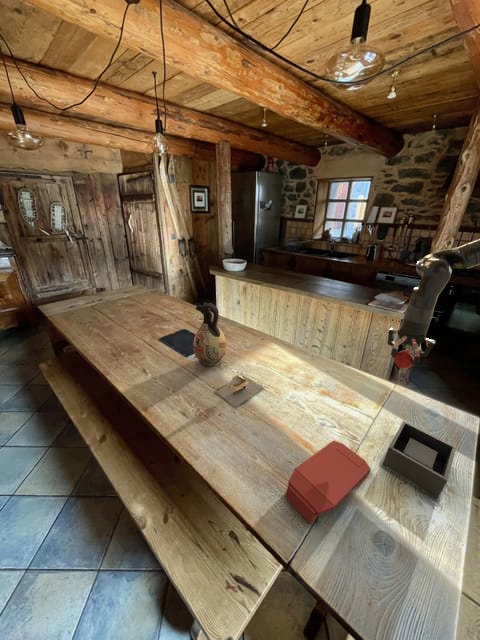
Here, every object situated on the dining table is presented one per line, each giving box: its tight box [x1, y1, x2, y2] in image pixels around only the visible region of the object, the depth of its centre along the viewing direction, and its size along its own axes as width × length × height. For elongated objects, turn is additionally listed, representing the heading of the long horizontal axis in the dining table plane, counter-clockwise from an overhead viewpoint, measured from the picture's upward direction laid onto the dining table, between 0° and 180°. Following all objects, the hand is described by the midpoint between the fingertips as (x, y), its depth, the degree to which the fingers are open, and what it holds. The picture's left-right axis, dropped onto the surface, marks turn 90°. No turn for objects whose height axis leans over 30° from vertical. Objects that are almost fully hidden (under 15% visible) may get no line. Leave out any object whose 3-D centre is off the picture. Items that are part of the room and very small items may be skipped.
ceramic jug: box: [192, 302, 228, 367], centre depth 117 cm, size 17×15×30 cm
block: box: [403, 438, 438, 470], centre depth 76 cm, size 7×7×5 cm
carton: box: [284, 439, 372, 525], centre depth 73 cm, size 12×5×25 cm
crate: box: [382, 420, 457, 499], centre depth 76 cm, size 14×14×8 cm
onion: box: [393, 349, 414, 370], centre depth 95 cm, size 6×6×8 cm
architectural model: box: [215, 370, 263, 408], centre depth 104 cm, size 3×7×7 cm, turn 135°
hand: (403, 359), depth 95 cm, fingers closed on onion, 6 cm apart
